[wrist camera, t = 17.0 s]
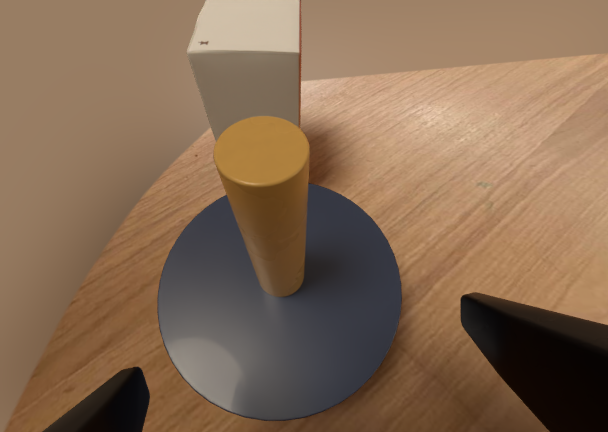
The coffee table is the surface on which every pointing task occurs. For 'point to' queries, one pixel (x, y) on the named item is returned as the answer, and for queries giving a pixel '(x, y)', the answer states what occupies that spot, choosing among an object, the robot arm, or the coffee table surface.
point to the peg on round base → (277, 284)
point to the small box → (248, 60)
